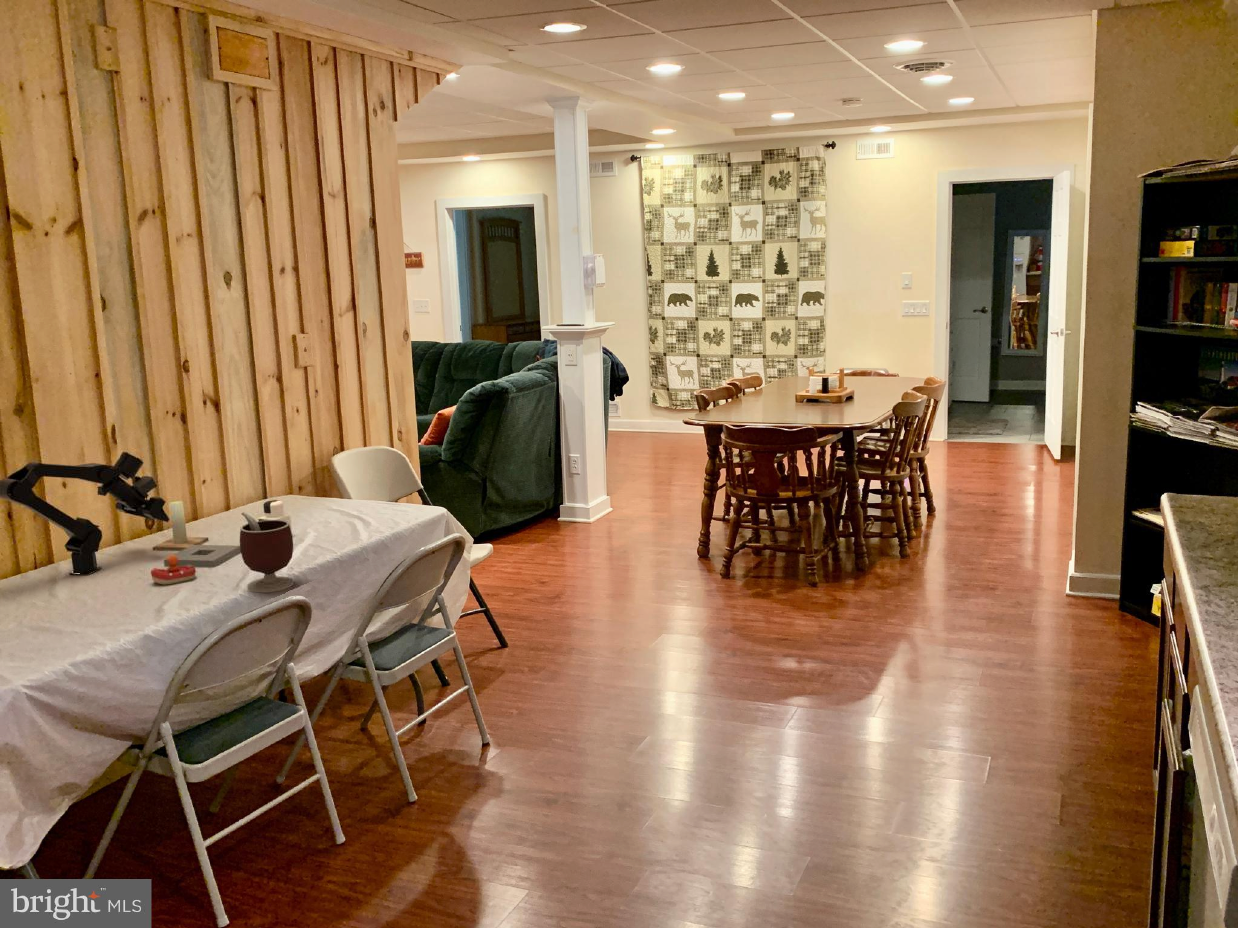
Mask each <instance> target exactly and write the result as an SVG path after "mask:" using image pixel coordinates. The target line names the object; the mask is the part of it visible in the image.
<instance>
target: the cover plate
mask: <svg viewBox="0 0 1238 928" xmlns="http://www.w3.org/2000/svg"><path fill="white" fill-rule="evenodd" d="M240 553H241V550H240V545H232V544H231V545H224V544H223V545H221V544H220V545H219V544H218V545H217V544H201V545H192V546H190V547H188V548H186V549H184V550H182V551H177V552H176V553H174V554H173V555H175V556H177V558H178V563H177V564H176V565H177V566H183V565H192V566H196V567H195V568H215V567H217V566H219V565H221V564H222V562H223V561H224V562H226V561H227V560H229V558H230V559H232V558H233V557H235V556H236V554H237V555H238V554H240ZM234 555H235V556H234ZM225 560H226V561H225ZM224 562H223V563H224ZM163 563H164V564H163V565H164V567H169V566H170V565H169V564H168V557H167V558H165V559H163ZM220 563H221V564H220ZM218 564H219V565H218Z"/></svg>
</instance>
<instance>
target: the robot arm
mask: <svg viewBox="0 0 1238 928" xmlns="http://www.w3.org/2000/svg"><path fill="white" fill-rule="evenodd" d="M143 465H144V461H143V460H142V459H140V457H136V456H135V455H134V454H131V453H129V452H127V451H122V452H121V454H120V456H119V458H118V459H117V461H116V462H115V463H114V465H111V464H110V465H109V464H103V463H96V462H89V463H82V464H76V465H75V464H74V465H73V464H72V465H71V464H59V463H58V464H57V463H43V462H42V463H41V462H37V461H30V462H28V463H27V464H25V465H24V466H22V468H20V469H18V470H16V471H14V472H13V473H11V474H10V475H8V476H7V477H5V478H2V479H0V499H3V500H6V501H8V502H10V503H14V504H17V505H20V506H23V507H24V508H26V509H28V510H30V511H32V512H33V513H35V514H36V515H38V516H40V517H41V518H43V519H45V520H46V521H48V522H49V523H52V524H53V525H55V526H56V527H58V528H60V529H62V530H63V531H64V532H65V534H66V535H67V536H68V540H67V541H66V543H65V544H64V548H65V550H66V551H67V552H70V553H71V554H70V555H71V557H70V558H71V564H72V571H73V573H80V574H89V573H91V572H93V571H95V572H97V571H99V570H101V569H103V568H102V566H98V563H97V556H96V553H97V552H98V551H99V548H100V543H101V541H102V539H103V531H102V529H100V528H99V527H100V525H98V524H97V525H96V524H94V523H93V522H92V521H91V520H89V519H88V518H82V517H78V516H76V518H74V517H72V516H70V515H69V514H67V513H65V512H63V511H62V510H61V509H59V508H57V507H56V506H54V505H52V504H50V503H49V502H48V501H46V500H44V499H42V498H41V497H39V496H38V495H37V494H36V493H35V492H34V490H33V488H35V486H36V485H37V484H38V482H39V480H41V478H44V477H45V478H46V477H47V478H65V479H77V480H81V481H86V482H89V483H95V484H99V485H100V484H101V485H100V486H97V495H98V496H102V497H106V496H107V495H110V496H112V497H113V498H115V505H114V506H115V509H116V510H117V511H119V512H121V513H124V514H128V515H131V516H132V515H133V516H136V517H140V518H146V519H149V520H150V519H153V520H157V521H162V522H165V523H168V522H169V521H171V518H169V516H168V514H167V513H166V511H165V509H164V505H165V504H166V500H165V499H164V498H162V497H159V496H151V497H149V493H150V492H151V491H152V490H153V489H156V488H157V487H158V483H156V481H155V479H154V477H153V476H148V475H145V476H141V477H140V476H137V473H138V472H139V471H140V469H141V468H142V466H143ZM129 479H131V482H132V485H131V484H130V483H128V482H127V481H129ZM148 497H149V499H148ZM100 568H101V569H100ZM98 569H99V570H98ZM96 570H97V571H96ZM72 571H70V572H72ZM93 573H94V572H93ZM91 574H92V573H91ZM89 575H90V574H89Z"/></svg>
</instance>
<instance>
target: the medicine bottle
mask: <svg viewBox="0 0 1238 928" xmlns="http://www.w3.org/2000/svg"><path fill="white" fill-rule="evenodd" d="M284 512H285V510H284V502H283V501H282V500H279V499H278V500H277V499H275V500H273V499H271V500H267V501H265V502H264V503H263V514H264V515H263V516H259V517H258V521H264V520H284V521H287V522H289V526H290V529H291V533H292V534H293V531H292V520H291V514H286V513H284Z"/></svg>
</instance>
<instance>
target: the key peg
mask: <svg viewBox="0 0 1238 928" xmlns="http://www.w3.org/2000/svg"><path fill="white" fill-rule="evenodd" d="M168 504H169V514H170V521H171V523H170V524H171V529H172V538H173V540H174V544H183V543H186V542H187V537H188V535H187V526H186V518H185V509H184V502H183V501H182V500H176V501H172V502H169V503H168Z"/></svg>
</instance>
